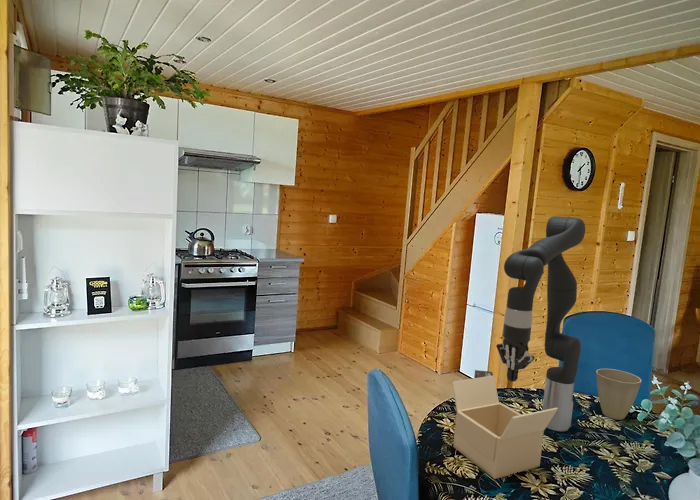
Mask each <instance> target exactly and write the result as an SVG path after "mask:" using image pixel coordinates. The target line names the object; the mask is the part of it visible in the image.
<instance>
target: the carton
mask: <svg viewBox="0 0 700 500" xmlns="http://www.w3.org/2000/svg"><path fill="white" fill-rule="evenodd" d="M455 415H456V417H455V427H454V436H453V448H454V449H456V450H457V451H458V452H459V453H461V454H462V455H463V456H465V458H467V459H468V460H470V462H472V463H473V464H475V465H476V466H478V467H479V469H481V470H483V472H485V473H486V474H487V475H489V476H490V477H491V478H493V479H494V480H495V479H500V478H503V477H506V476H510V474H511V475H514V474H517V472H518V473H520V472H523V471H528V470H531V469H534V468H538V467H541V466H540V465H541V458H542V457H541V456H542V449H543V441H544V433H545V430H542V431H537V432H533V433H529V434H525V435H520V436H516V437H512V438H508V439H503V440H500V437H501V436H502V434H503V432H504V430H505V429H506V427H507V425H508V423H509V422H510V420H511V418H512V417H514V416H519V415H523V414H522V413H520V412H518V411H517V410H515V409H513V408H512V407H509V406H508V405H506V404H505V403H501V402H499V403H496V404H490V405H485V406H479V407H474V408H469V409H463V410H458V411H457V410H456V414H455ZM513 473H514V474H513Z"/></svg>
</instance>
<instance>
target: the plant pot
mask: <svg viewBox="0 0 700 500" xmlns="http://www.w3.org/2000/svg"><path fill="white" fill-rule="evenodd" d="M595 373H596V388H597V389H596V390H597V394H598V399H599V400H598V401H599V405H600V408H601V411H602V412H601V413H602V415H604V416H605V417H607V418H610V419H612V420H619V421H621V420H625V418H626V417H627V416H628V413H629V412H630V411H631V408H632V407H633V405H634V403H635V400H636V398H637V396H638V394H639V393H638V392H639V390H640V386H641V383H642V379H641V378H640V377H639V376H638V375H635V374H633V373H631V372H627V371H624V370H619V369H615V368H614V369H613V368H599V369H596V371H595Z"/></svg>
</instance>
